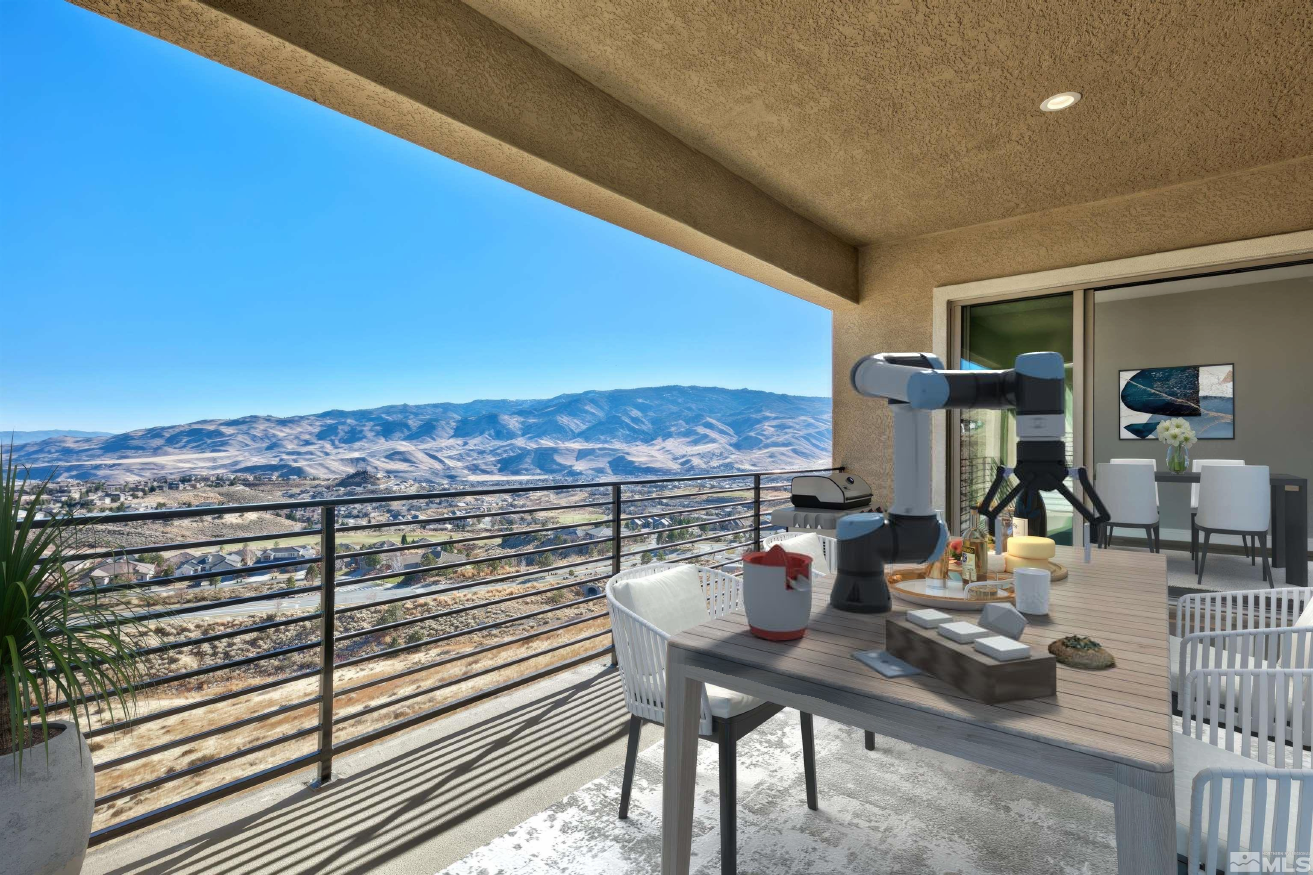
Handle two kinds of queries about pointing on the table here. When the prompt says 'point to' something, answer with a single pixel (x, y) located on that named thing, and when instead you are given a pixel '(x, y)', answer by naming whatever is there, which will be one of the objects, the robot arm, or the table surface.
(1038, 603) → the white cup
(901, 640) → the button box
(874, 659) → the pattern card
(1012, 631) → the die
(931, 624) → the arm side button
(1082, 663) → the bread roll
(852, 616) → the table surface
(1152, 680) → the table surface
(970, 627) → the middle button
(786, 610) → the citrus juicer
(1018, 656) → the outer button
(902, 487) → the robot arm
